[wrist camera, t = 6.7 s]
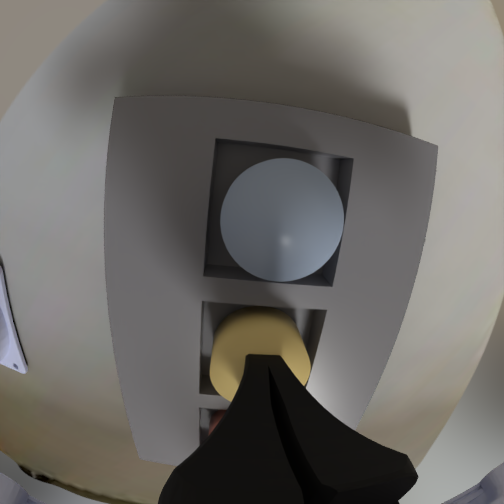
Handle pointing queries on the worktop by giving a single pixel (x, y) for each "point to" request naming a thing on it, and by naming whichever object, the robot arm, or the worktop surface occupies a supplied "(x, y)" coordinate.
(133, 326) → the panel
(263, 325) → the ochre button
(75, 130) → the worktop surface
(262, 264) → the slate button
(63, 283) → the worktop surface
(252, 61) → the worktop surface
